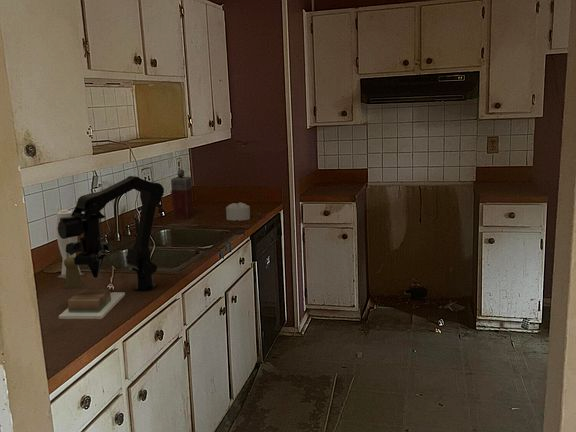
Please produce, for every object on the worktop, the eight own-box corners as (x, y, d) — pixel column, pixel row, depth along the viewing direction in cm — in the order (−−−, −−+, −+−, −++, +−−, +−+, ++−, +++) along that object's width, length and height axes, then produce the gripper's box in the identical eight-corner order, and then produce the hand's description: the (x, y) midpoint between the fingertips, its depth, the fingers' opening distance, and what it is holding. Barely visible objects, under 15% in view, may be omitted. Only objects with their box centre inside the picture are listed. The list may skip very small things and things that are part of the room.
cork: (84, 283, 217) (81, 255, 215) (79, 288, 212) (76, 259, 209) (68, 283, 217) (65, 255, 215) (63, 288, 211) (59, 260, 209)
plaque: (81, 289, 195) (67, 300, 184) (110, 289, 194) (97, 300, 184) (82, 300, 196) (68, 312, 185) (111, 300, 195) (98, 312, 185)
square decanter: (176, 215, 336) (173, 168, 330) (193, 216, 334) (191, 168, 328) (169, 218, 328) (166, 170, 322) (187, 219, 325) (184, 170, 319)
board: (86, 295, 204) (86, 292, 204) (124, 295, 203) (124, 292, 203) (58, 318, 183) (58, 315, 182) (101, 318, 182) (101, 316, 182)
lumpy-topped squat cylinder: (231, 216, 332) (231, 201, 330) (252, 217, 328) (252, 202, 326) (224, 220, 322) (224, 205, 320) (246, 221, 318) (245, 205, 316)
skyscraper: (55, 276, 226) (47, 207, 220) (71, 271, 233) (64, 203, 227) (70, 279, 222) (62, 209, 216) (86, 273, 229) (79, 205, 223)
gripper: (79, 226, 201) (84, 269, 205) (55, 240, 183) (60, 286, 186) (110, 226, 201) (114, 268, 204) (89, 239, 182) (94, 286, 186)
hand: (95, 277), depth 195 cm, fingers closed
